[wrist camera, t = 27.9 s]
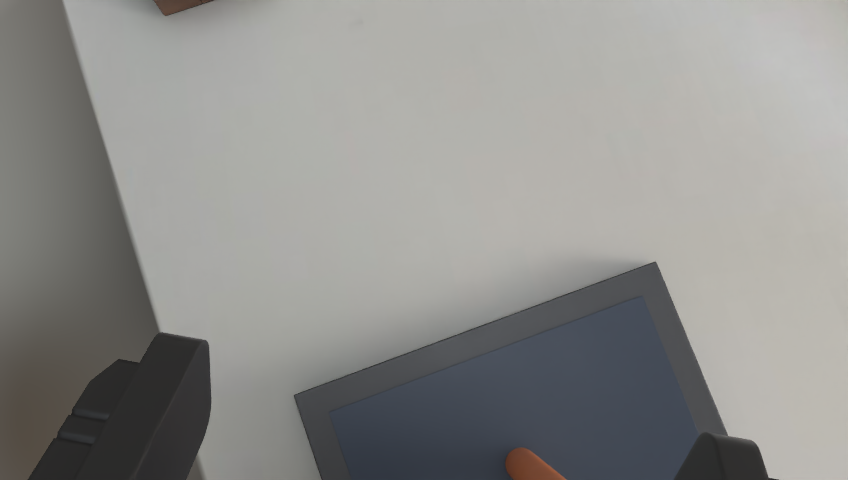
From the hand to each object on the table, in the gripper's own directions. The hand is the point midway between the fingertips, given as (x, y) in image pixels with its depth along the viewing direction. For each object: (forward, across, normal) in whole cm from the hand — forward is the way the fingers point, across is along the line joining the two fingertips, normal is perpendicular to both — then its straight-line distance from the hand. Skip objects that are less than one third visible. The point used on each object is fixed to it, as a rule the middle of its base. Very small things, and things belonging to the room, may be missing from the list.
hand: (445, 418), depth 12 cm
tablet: (+15, -7, +22) cm, 28 cm away
